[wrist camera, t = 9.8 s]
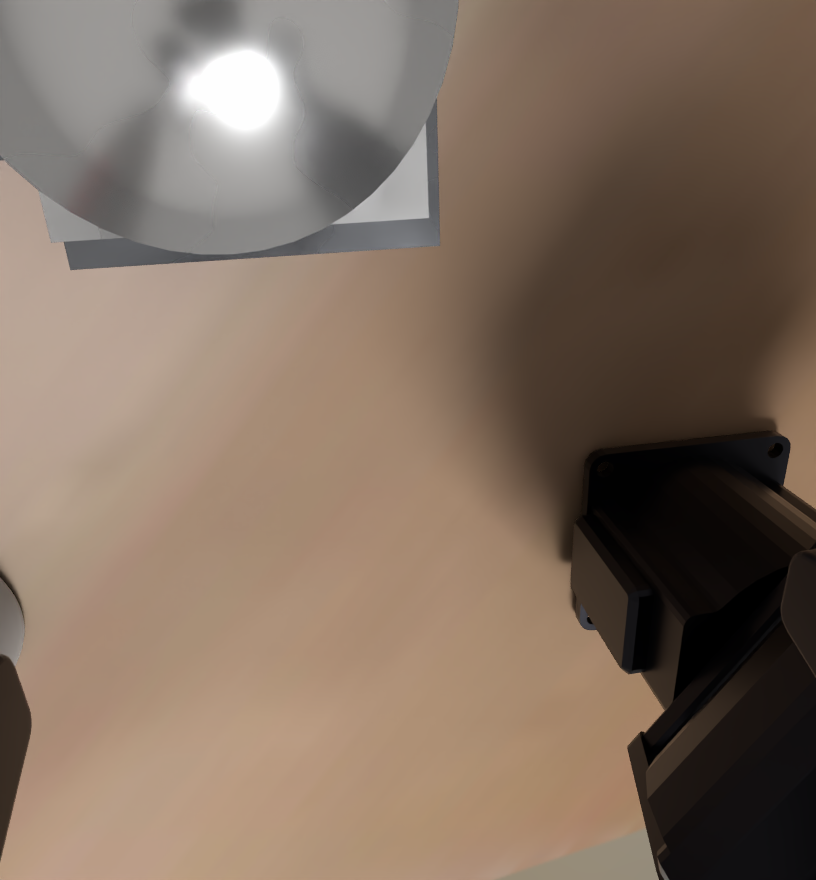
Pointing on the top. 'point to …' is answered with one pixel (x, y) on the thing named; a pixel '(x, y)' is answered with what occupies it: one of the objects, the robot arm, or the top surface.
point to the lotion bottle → (10, 624)
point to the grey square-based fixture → (221, 115)
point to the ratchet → (319, 242)
